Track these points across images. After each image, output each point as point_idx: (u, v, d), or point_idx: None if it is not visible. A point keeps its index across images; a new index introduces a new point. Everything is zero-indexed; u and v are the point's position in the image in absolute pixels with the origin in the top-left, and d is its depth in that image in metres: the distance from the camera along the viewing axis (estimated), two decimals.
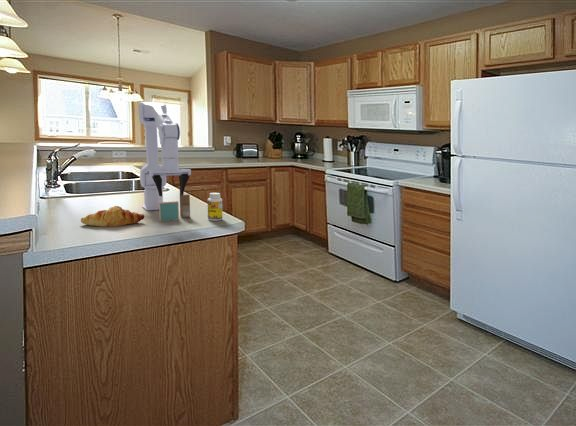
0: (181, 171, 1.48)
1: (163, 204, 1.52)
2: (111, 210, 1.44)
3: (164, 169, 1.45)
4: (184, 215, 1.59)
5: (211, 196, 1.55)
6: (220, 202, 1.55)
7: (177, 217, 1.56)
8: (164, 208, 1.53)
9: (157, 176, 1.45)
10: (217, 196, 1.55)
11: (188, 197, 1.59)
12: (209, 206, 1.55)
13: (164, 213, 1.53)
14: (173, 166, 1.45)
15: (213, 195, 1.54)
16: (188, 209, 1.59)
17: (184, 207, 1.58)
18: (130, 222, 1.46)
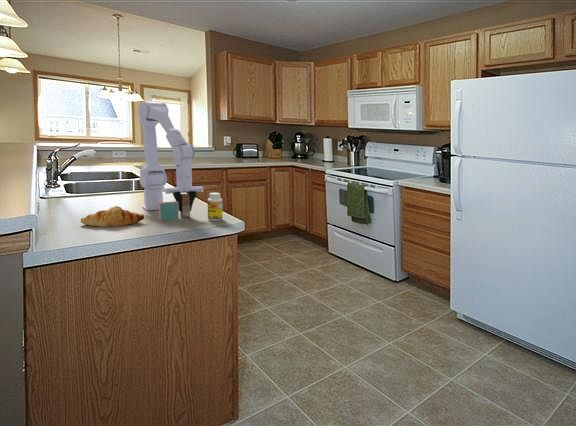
0: (194, 188, 1.59)
1: (163, 204, 1.52)
2: (111, 210, 1.43)
3: (179, 187, 1.56)
4: (184, 215, 1.59)
5: (211, 196, 1.55)
6: (220, 202, 1.55)
7: (177, 217, 1.56)
8: (164, 208, 1.53)
9: None
10: (217, 196, 1.55)
11: (188, 197, 1.59)
12: (209, 206, 1.55)
13: (164, 213, 1.53)
14: (187, 184, 1.56)
15: (213, 195, 1.54)
16: (188, 209, 1.59)
17: (184, 207, 1.58)
18: (130, 222, 1.46)
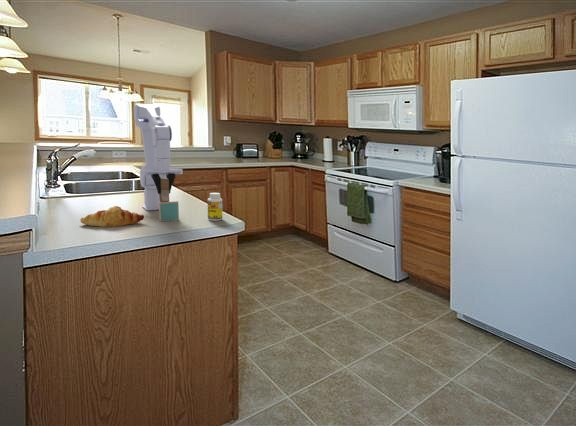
0: (173, 170, 1.57)
1: (163, 204, 1.52)
2: (110, 210, 1.43)
3: (157, 169, 1.54)
4: (163, 200, 1.57)
5: (211, 196, 1.55)
6: (220, 202, 1.55)
7: (177, 217, 1.56)
8: (164, 208, 1.53)
9: (150, 175, 1.54)
10: (217, 196, 1.55)
11: (167, 181, 1.57)
12: (209, 206, 1.55)
13: (164, 213, 1.53)
14: (165, 166, 1.55)
15: (213, 195, 1.54)
16: (167, 194, 1.57)
17: (163, 191, 1.57)
18: (129, 222, 1.46)
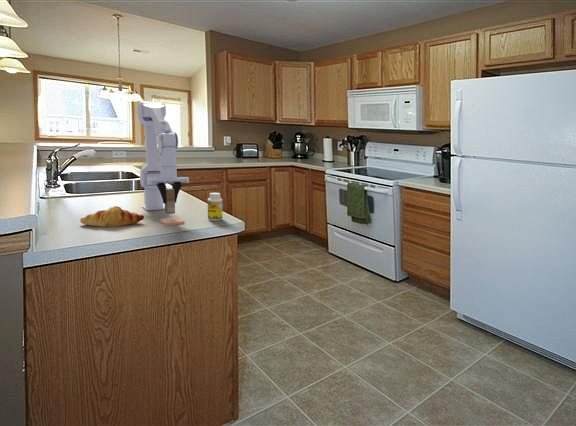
0: (179, 179, 1.51)
1: None
2: (110, 210, 1.43)
3: (162, 177, 1.48)
4: (169, 211, 1.51)
5: (211, 196, 1.55)
6: (220, 202, 1.55)
7: None
8: None
9: (156, 184, 1.48)
10: (217, 196, 1.55)
11: (173, 192, 1.51)
12: (209, 206, 1.55)
13: None
14: (171, 175, 1.48)
15: (213, 195, 1.54)
16: (173, 205, 1.52)
17: (169, 203, 1.51)
18: (129, 222, 1.46)
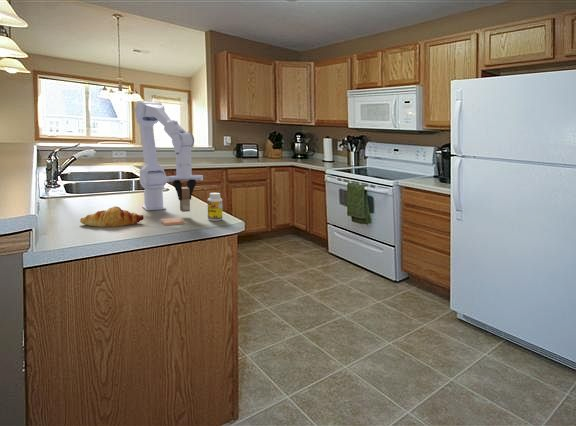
0: (194, 177, 1.58)
1: None
2: (110, 211, 1.43)
3: (178, 175, 1.55)
4: (184, 209, 1.59)
5: (211, 196, 1.55)
6: (220, 202, 1.55)
7: None
8: None
9: (172, 181, 1.55)
10: (217, 196, 1.55)
11: (188, 191, 1.58)
12: (209, 206, 1.55)
13: None
14: (187, 173, 1.55)
15: (213, 195, 1.54)
16: (188, 203, 1.59)
17: (184, 201, 1.58)
18: (129, 223, 1.46)
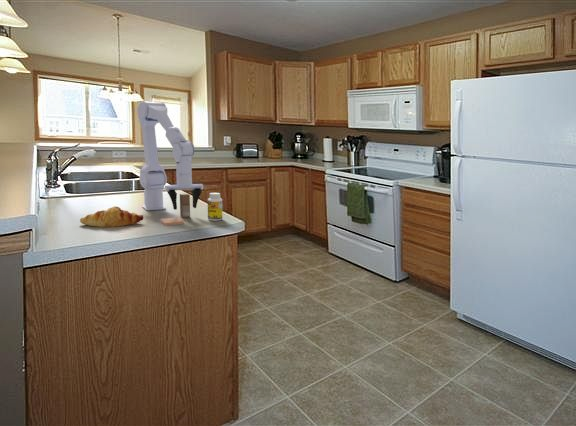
0: (194, 186, 1.59)
1: None
2: (109, 211, 1.43)
3: (179, 184, 1.56)
4: (184, 215, 1.59)
5: (211, 196, 1.55)
6: (220, 202, 1.55)
7: None
8: None
9: (172, 191, 1.56)
10: (217, 196, 1.55)
11: (188, 197, 1.59)
12: (209, 206, 1.55)
13: None
14: (187, 182, 1.56)
15: (213, 195, 1.54)
16: (188, 209, 1.59)
17: (184, 207, 1.59)
18: (128, 223, 1.45)
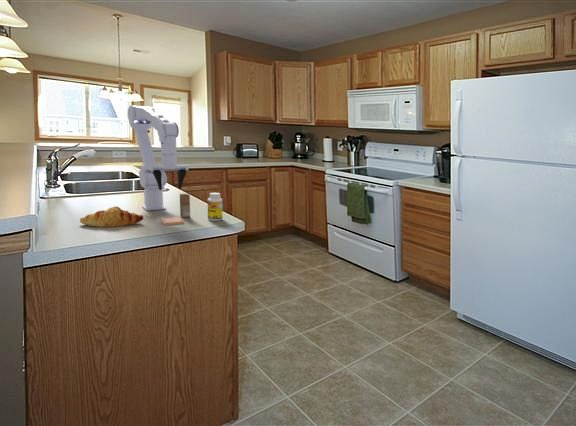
0: (179, 166, 1.60)
1: None
2: (109, 211, 1.43)
3: (163, 165, 1.58)
4: (184, 215, 1.59)
5: (211, 196, 1.55)
6: (220, 202, 1.55)
7: None
8: None
9: (157, 171, 1.57)
10: (217, 196, 1.55)
11: (188, 197, 1.59)
12: (209, 206, 1.55)
13: None
14: (172, 162, 1.58)
15: (213, 195, 1.54)
16: (188, 209, 1.59)
17: (184, 207, 1.59)
18: (128, 223, 1.45)
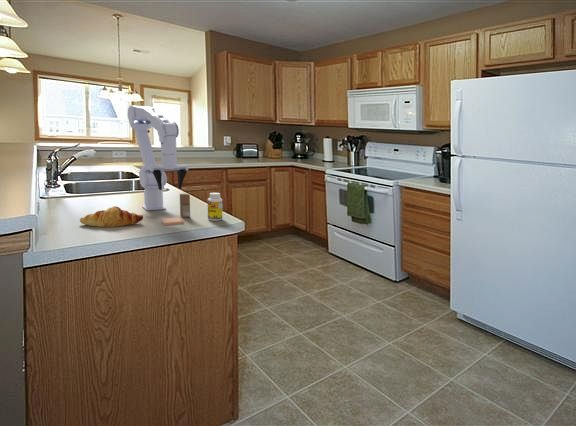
0: (179, 166, 1.60)
1: None
2: (109, 210, 1.43)
3: (163, 165, 1.58)
4: (184, 215, 1.59)
5: (211, 196, 1.55)
6: (220, 202, 1.55)
7: None
8: None
9: (157, 171, 1.57)
10: (217, 196, 1.55)
11: (188, 197, 1.59)
12: (209, 206, 1.55)
13: None
14: (172, 162, 1.58)
15: (213, 195, 1.54)
16: (188, 209, 1.59)
17: (184, 207, 1.59)
18: (128, 223, 1.45)
